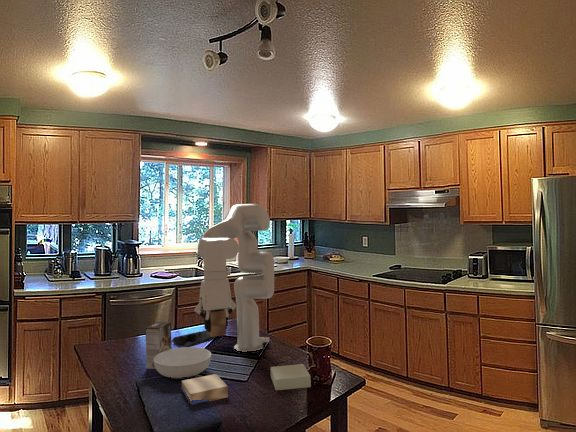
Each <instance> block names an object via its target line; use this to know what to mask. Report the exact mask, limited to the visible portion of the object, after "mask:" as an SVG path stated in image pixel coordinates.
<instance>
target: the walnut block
mask: <svg viewBox="0 0 576 432" xmlns="http://www.w3.org/2000/svg"><path fill="white" fill-rule="evenodd" d="M209 320H210V321H211V331H210V332H208V331H207V334H208V335H210V336H211V337H215V336H218V337H221V336H222V337H223V336H226V335H227V329H226V311H225V310H222V309H221V310H213V311H211V312H210V316H209Z"/></svg>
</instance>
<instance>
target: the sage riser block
mask: <svg viewBox="0 0 576 432" xmlns="http://www.w3.org/2000/svg"><path fill="white" fill-rule="evenodd" d="M270 378H271V381H272V384H273V386H274V390H275V391H283V390H293V389H304V388H306V389H307V388H311V387H312V384H311V383H312V381H311V379H312V378H311V374H310V373H309V371H308V370H307V368H306V366H305V365H304V363H300V364H299V363H298V364H290V365H289V364H288V365H277V366H270Z"/></svg>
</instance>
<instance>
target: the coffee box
mask: <svg viewBox="0 0 576 432" xmlns="http://www.w3.org/2000/svg"><path fill="white" fill-rule="evenodd" d="M171 324H172V322H169V321H168V322H167V321H157V322H155V323H153V324H150V325H148V326H147V327H145V328H144V329H145V354H146V355H145V358H146V359H145V360H146V369H147V370H156V368H155V365H154V360H153V359H154V357H155V356H156V355H157V354H159V353H161V352H163V351H166V350H170V349H173V348H172V342H171V341H172V325H171Z"/></svg>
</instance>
